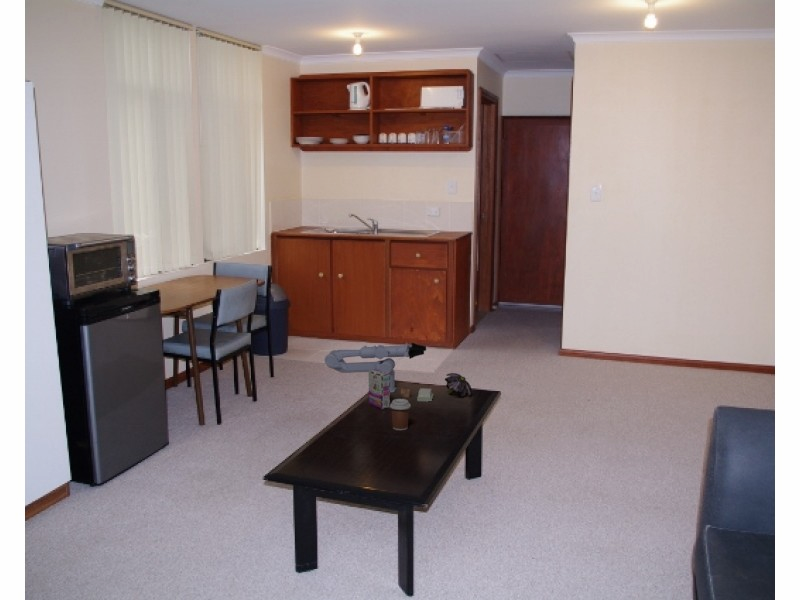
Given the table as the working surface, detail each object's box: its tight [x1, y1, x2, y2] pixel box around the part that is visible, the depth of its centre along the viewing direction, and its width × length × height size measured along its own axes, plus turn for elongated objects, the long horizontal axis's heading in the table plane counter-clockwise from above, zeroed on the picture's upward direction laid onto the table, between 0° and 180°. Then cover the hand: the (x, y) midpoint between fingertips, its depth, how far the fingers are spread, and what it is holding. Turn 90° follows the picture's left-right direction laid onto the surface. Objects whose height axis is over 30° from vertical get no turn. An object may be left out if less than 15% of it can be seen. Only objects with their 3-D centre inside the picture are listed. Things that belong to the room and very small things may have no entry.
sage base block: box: [416, 392, 435, 402], centre depth 351 cm, size 7×7×2 cm
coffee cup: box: [389, 398, 412, 431], centre depth 310 cm, size 9×9×12 cm
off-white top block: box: [418, 387, 433, 397], centre depth 350 cm, size 6×6×2 cm
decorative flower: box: [444, 372, 473, 399], centre depth 356 cm, size 15×12×15 cm
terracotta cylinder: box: [400, 387, 411, 400], centre depth 352 cm, size 4×4×4 cm
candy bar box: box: [368, 370, 391, 410], centre depth 339 cm, size 11×5×16 cm, turn 37°
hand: (424, 350), depth 358 cm, fingers open, 7 cm apart
